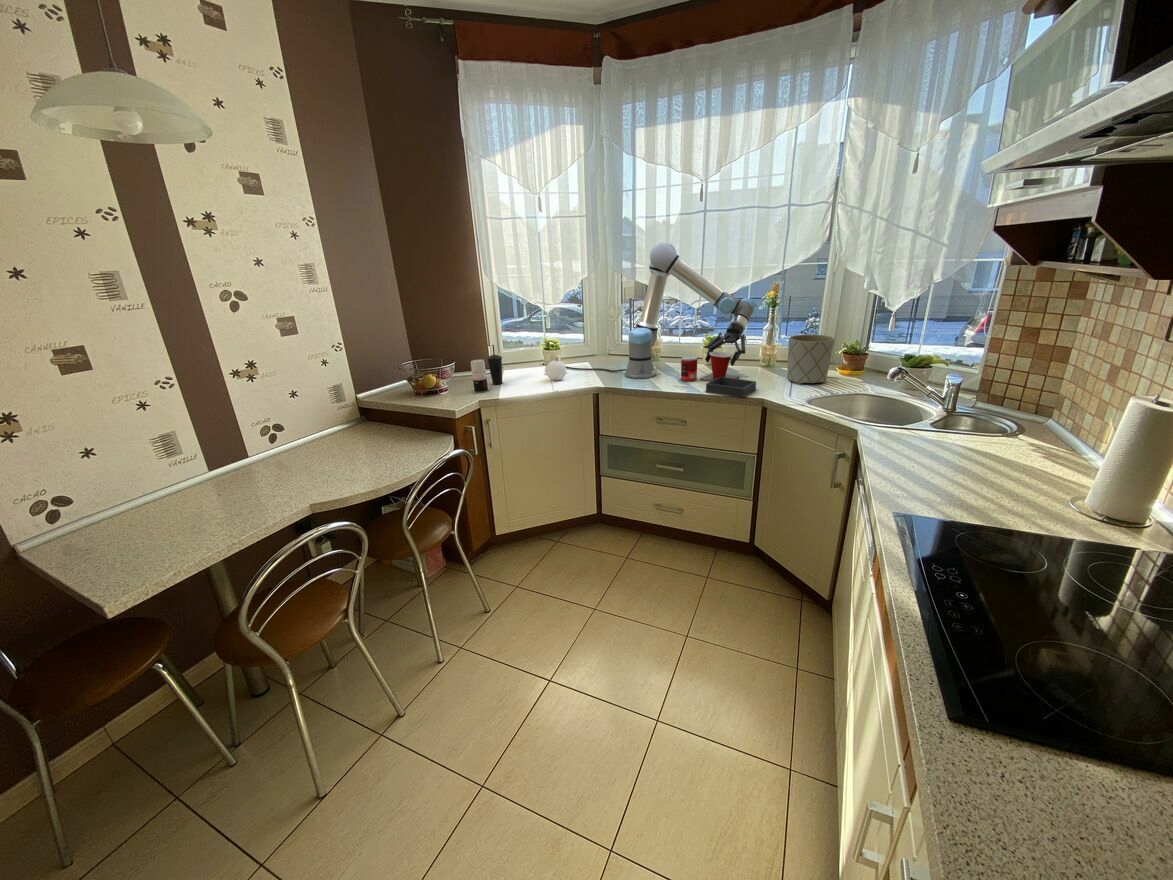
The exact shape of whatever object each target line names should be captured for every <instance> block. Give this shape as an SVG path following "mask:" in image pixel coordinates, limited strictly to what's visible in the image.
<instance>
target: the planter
mask: <svg viewBox="0 0 1173 880" xmlns="http://www.w3.org/2000/svg"><path fill="white" fill-rule="evenodd" d="M835 340H836V338H835V337H833V336H829V335H826V334H825V335H824V334H795V335H791V336H789V337H788V346H787V367H786V369H787V371H786V372H787V373H786V378H787V380H789V381H791V382H793V383H794V384H796V385H801V384H816V383H817V384H818V383H822V384H825V383H826V381H827V379H828V374H829V369H830V364H831V360H832V355H833V350H834V346H835Z"/></svg>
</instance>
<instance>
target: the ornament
mask: <svg viewBox="0 0 1173 880" xmlns="http://www.w3.org/2000/svg"><path fill="white" fill-rule="evenodd" d="M554 359H555V360H554ZM554 359H553V360H551V361H548V362H549V363H547V364H546V367H545V373H546V376H547V377H548V379H550V380H551V381H561V380H562V379H564V378H565V376H566V375H567V368H566V365H565V363H564V362H563V361H561V360H559V357H558V356H555V358H554Z"/></svg>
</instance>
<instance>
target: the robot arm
mask: <svg viewBox="0 0 1173 880" xmlns="http://www.w3.org/2000/svg"><path fill="white" fill-rule="evenodd" d="M648 270H649V272H650V276H649V281H648V285H647V289H646V294H645V297H644V301H643V302H644V303H643V307H642V311H641V316H640V319H639V320H638V321H637V322H636V324H635V328H632V329H630V330H629V332H628V363H627V367H626V368H624V369H608V368H603V367H602V368H601V367H599V368H598V367H595V368H594V367H593V368H589V367H587V368H586V367H585V368H584V367H571V366H566V365H565V366H566V369H570V370H580V371H606V372H611V373H616V372H617V373H618V372H625V376H626V377H627V378H631V379H648V378H649V379H650V378H654V376H656V369H655V366H654V362H653V347H654V345H655V344H656V343H657V342H656V341H657V334H658V331H659V326H658V324H657V323H658V317H659V314H660V309H661V305H662V301H663V297H664V292H665V288H666V285H667V281H668V277H669V276H672V277H674V278H675V279H677V280H678V281H679V282H681V283H682V284H684V285H685V286H686V287H688V288H689V289H690V290H692V291H693V292H694V293H695V294H697V295H698V296H700V297H701V298H702V299H704V300H706V301H707V302H708V303H709V304H711V305H713V306H714V308H716V309H718V310H719V312H720V313H722V314H724V315H728V314H732V315H733V317H732V318H731V320H730V322H729V324H728V326H727V329H726V331H725V333H722V332H721V331H720V332H719V333H718V334H717V336H715V338H713V339H712V340H711V341H710V342H709V343H707V345H706V348H707V351H706V356H705V358H704V360H705V362H706V363H710V361H711V357H710V354H709V353H710V352H715V351H714V350H716V349H718V348H720V347H721V346H722V345H726V344H731V345H733V344H734V346H735V348H736V350H735V351H734V354H732V357H731V358H730V361H729V364H730V365H731V367H733V366H734V365H735V363H736V361H737V360H739V359H740V356H741V355H742V354H743V355H745V354H746V339H747V337H746V335H745V334H743V333H744V330H745V329H746V327H747V325H748V322H749V321H750V318H751V317H752V315H753V313H754V310H755V308H756V302H755V301H754V299H752V298H748V297H744V298H742V299H740V298H737V297H735V296H733V295H731V294H730V293H728V292H727V291H723V290H722V289H721V288H719V287H718V286H717V285H715V284H714V283H713V282H711V281H709V279H707V278H706V277H704V276H703V275H702V274H701V273H699V272H698V271H696V270H695V269H694V268H692V267H691V266H689V265H688V264H687V263H685V262H684V261H683V260H682V257H681V256H680V255H679V254H677V250H676V248H675V247H674V245H672V244H671V243H668V242H659V243H657V244H655V245H654V246H653V247H651V250H650V252H649V266H648ZM739 340H740V345H739V343H738V341H739ZM740 346H741V348H740ZM544 363H545V362H543V363H542V365H545V364H544Z"/></svg>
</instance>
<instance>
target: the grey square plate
mask: <svg viewBox="0 0 1173 880" xmlns="http://www.w3.org/2000/svg"><path fill="white" fill-rule="evenodd" d="M725 377H726V378H734V379H739V378H740V376H739V375H732V374H726V376H725ZM715 379H716V378H713V373H712V372H711V373H709V374H708V375H707V374H706V375H705V376H703V377H701V378H699V381H705V382H711V381H713V380H715Z"/></svg>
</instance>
